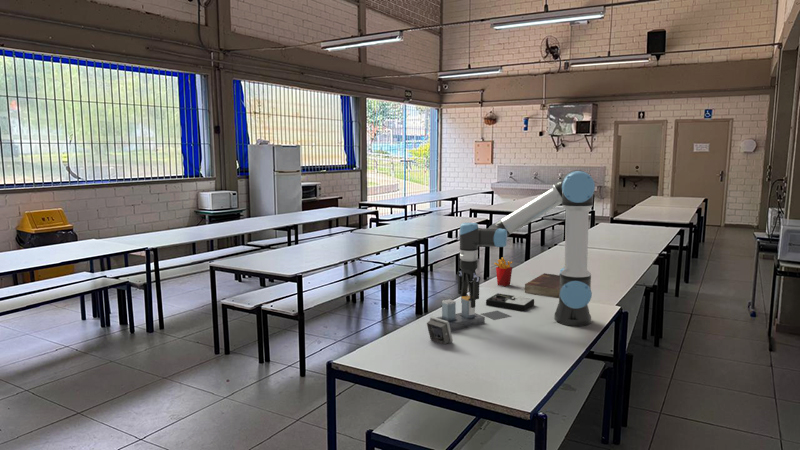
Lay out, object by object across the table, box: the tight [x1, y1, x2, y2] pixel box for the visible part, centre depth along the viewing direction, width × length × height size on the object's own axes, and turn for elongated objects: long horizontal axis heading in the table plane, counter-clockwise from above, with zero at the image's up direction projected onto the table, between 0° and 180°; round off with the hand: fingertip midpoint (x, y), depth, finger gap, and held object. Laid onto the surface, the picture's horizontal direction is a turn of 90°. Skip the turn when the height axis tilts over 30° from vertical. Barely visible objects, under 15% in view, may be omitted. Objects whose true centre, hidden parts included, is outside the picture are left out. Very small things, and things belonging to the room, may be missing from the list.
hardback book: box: [524, 272, 560, 299], centre depth 282 cm, size 29×19×5 cm, turn 146°
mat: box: [480, 310, 512, 321], centre depth 238 cm, size 10×10×1 cm
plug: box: [461, 294, 475, 318], centre depth 228 cm, size 4×4×10 cm
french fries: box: [494, 257, 513, 287], centre depth 291 cm, size 9×8×15 cm
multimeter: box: [485, 293, 535, 312], centre depth 253 cm, size 13×19×5 cm
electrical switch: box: [426, 316, 454, 345], centre depth 206 cm, size 9×5×9 cm, turn 44°
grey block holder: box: [435, 299, 486, 332], centre depth 226 cm, size 10×20×11 cm, turn 119°
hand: (468, 312), depth 229 cm, fingers open, 4 cm apart
